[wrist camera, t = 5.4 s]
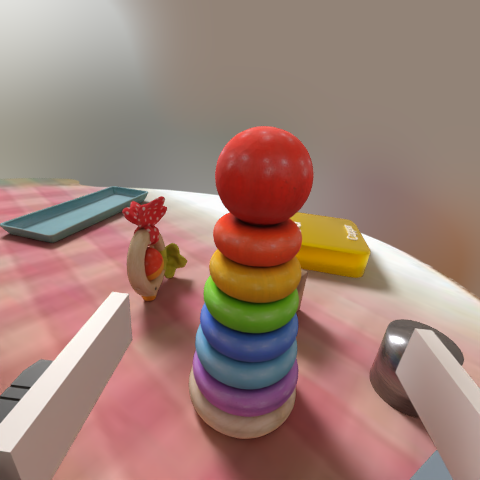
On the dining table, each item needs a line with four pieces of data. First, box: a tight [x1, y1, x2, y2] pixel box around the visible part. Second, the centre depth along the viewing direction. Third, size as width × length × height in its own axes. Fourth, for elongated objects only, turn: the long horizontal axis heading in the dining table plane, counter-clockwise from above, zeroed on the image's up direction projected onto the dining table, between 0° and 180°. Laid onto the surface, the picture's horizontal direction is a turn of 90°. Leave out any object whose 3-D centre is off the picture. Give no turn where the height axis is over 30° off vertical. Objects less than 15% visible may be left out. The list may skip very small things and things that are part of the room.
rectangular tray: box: [0, 186, 148, 243], centre depth 51 cm, size 26×9×2 cm, turn 167°
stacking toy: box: [189, 126, 313, 439], centre depth 17 cm, size 8×8×19 cm
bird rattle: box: [122, 196, 187, 301], centre depth 30 cm, size 6×11×9 cm
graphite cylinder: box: [370, 319, 464, 418], centre depth 22 cm, size 5×5×5 cm
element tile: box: [290, 212, 370, 278], centre depth 46 cm, size 15×15×5 cm
